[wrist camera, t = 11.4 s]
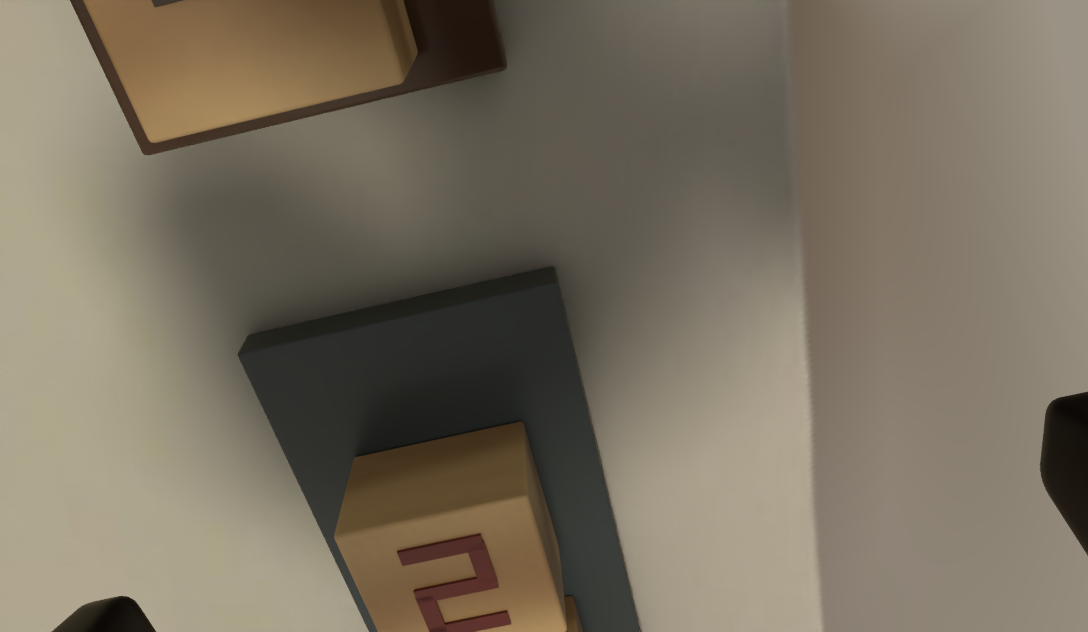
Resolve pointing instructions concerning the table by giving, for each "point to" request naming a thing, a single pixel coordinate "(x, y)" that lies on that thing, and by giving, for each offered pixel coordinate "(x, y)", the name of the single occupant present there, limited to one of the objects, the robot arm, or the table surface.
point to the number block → (453, 536)
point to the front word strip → (277, 58)
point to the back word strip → (450, 412)
